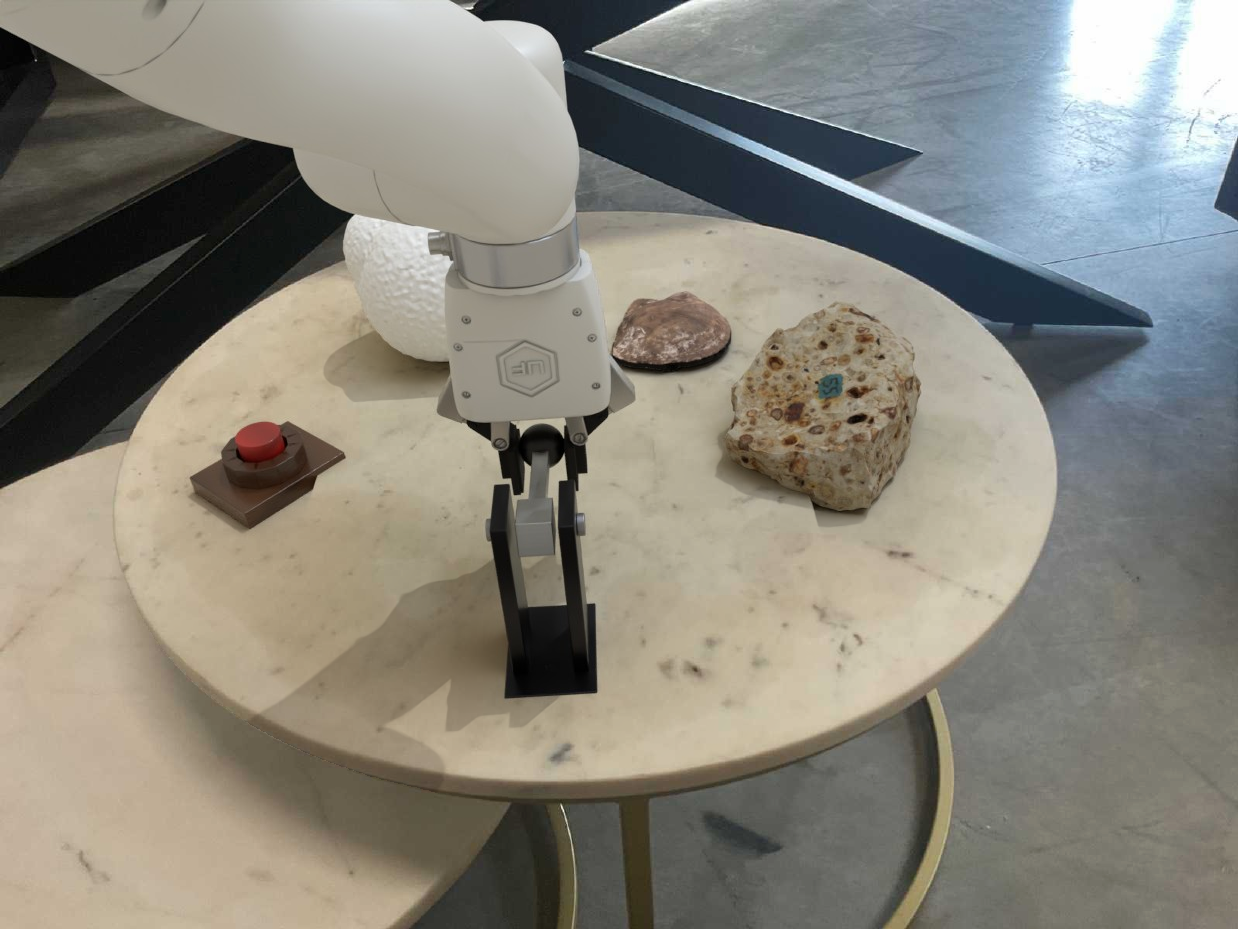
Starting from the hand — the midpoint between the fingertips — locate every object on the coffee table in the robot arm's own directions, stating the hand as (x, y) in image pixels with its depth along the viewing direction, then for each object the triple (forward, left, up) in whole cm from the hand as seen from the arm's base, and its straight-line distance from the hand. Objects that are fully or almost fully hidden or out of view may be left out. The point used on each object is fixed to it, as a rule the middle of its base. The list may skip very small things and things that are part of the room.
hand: (546, 479), depth 73 cm
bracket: (-8, -7, -8) cm, 13 cm away
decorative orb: (+16, +30, -8) cm, 35 cm away
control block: (-7, +26, -8) cm, 28 cm away
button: (-7, +26, -5) cm, 27 cm away
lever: (-4, -3, +2) cm, 6 cm away
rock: (+25, -8, -8) cm, 28 cm away
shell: (+30, +12, -8) cm, 34 cm away
